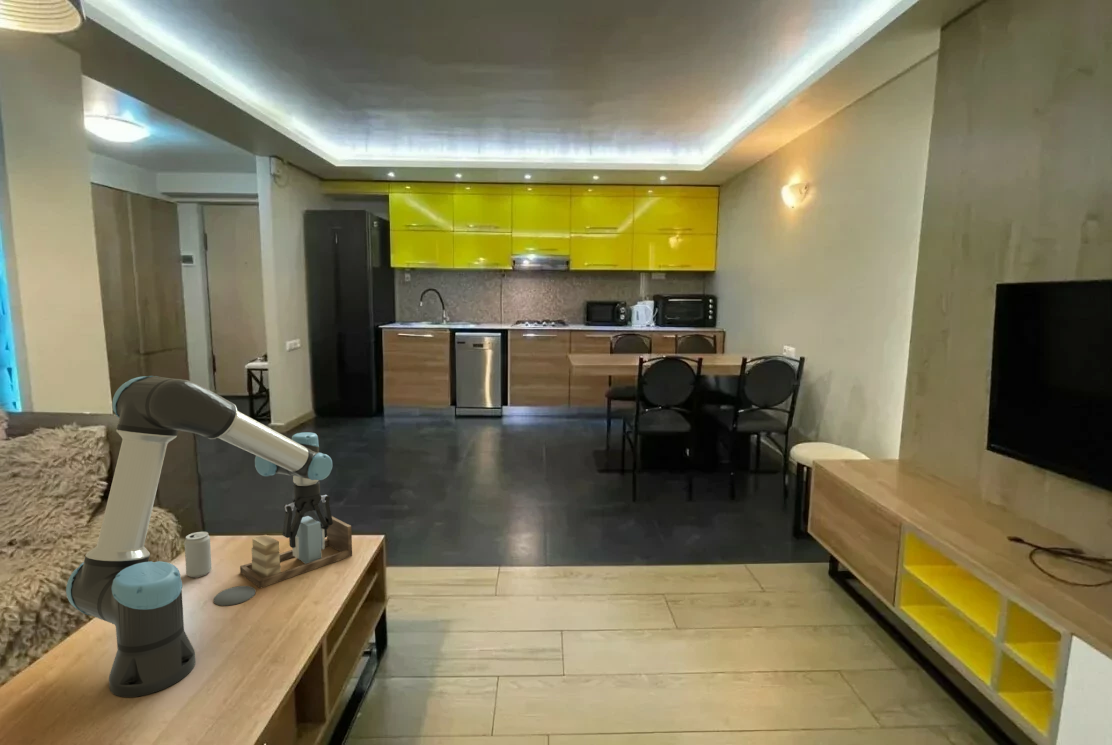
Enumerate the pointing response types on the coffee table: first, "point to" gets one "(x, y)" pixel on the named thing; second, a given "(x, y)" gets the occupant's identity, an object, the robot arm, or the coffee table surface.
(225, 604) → the coaster
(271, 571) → the offcut
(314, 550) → the light blue block
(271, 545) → the offcut
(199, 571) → the beverage can
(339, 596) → the coffee table surface
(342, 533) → the rack
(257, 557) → the offcut
